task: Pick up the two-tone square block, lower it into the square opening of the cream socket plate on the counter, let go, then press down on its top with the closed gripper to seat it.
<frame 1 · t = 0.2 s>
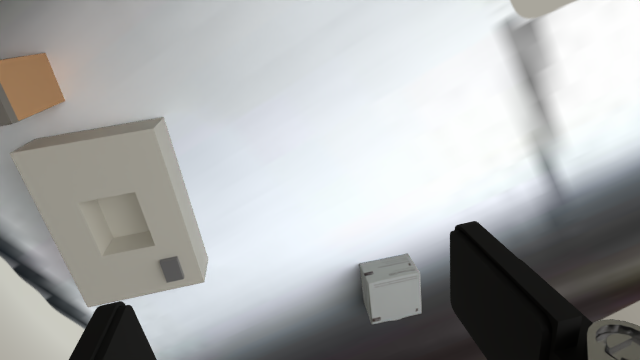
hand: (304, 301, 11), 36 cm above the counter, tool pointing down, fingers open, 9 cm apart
two-tone square block: (35, 80, 40), on the counter
small box: (384, 276, 58), on the counter
socket plate: (130, 205, 47), on the counter
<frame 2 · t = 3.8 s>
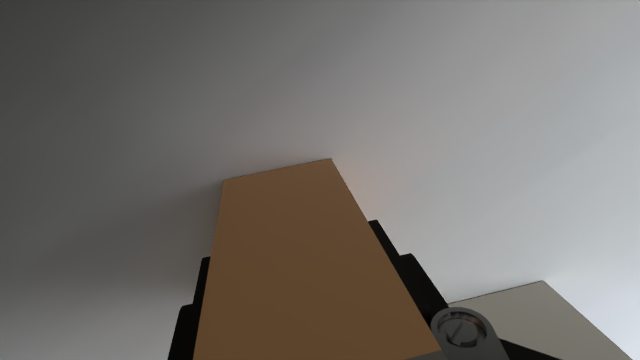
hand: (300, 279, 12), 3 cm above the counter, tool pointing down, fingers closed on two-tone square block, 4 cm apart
two-tone square block: (290, 226, 15), on the counter, touching gripper
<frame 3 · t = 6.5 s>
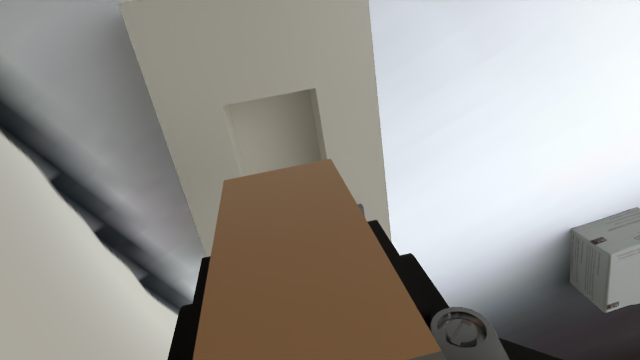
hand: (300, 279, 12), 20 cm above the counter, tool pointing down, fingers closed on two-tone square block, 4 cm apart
two-tone square block: (290, 227, 15), point 16 cm above the counter, touching gripper
small box: (599, 244, 41), on the counter
socket plate: (276, 128, 30), on the counter
when the fingers open (6 cm above the counter, at t = 9.4 s): two-tone square block drops 2 cm, resting on socket plate.
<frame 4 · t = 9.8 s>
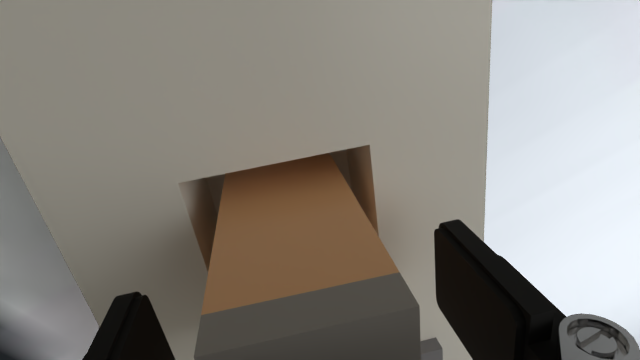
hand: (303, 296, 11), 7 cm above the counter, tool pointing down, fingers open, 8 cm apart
two-tone square block: (285, 203, 17), point 1 cm above the counter, touching socket plate
socket plate: (284, 195, 18), on the counter
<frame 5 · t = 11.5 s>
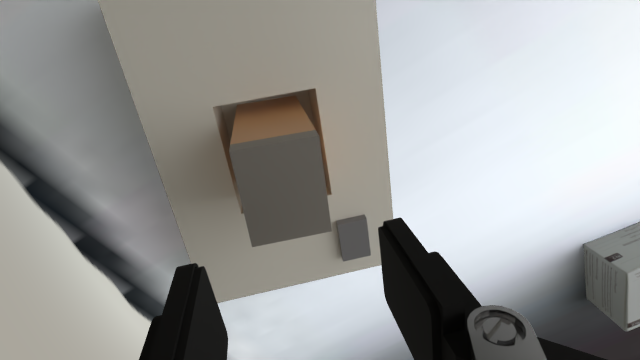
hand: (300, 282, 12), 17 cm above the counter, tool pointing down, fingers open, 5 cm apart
two-tone square block: (272, 135, 27), point 1 cm above the counter, touching socket plate
small box: (614, 256, 39), on the counter
socket plate: (272, 132, 28), on the counter
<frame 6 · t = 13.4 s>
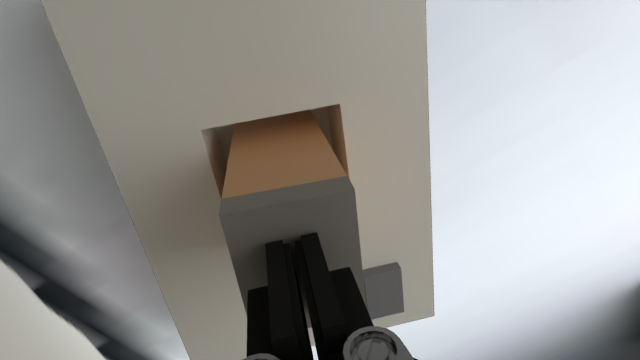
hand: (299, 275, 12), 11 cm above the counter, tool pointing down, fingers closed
two-tone square block: (280, 159, 21), point 1 cm above the counter, touching gripper, socket plate
socket plate: (279, 154, 22), on the counter
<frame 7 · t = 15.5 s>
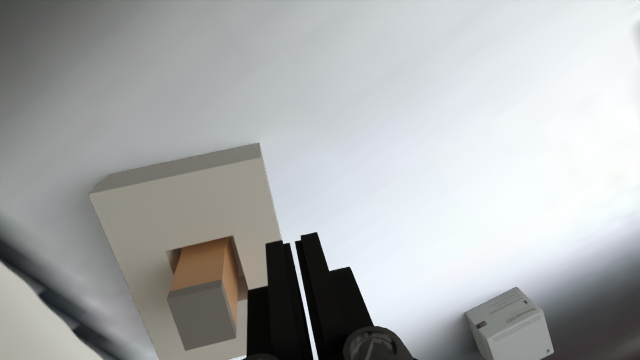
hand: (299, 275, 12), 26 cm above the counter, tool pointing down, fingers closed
two-tone square block: (213, 252, 38), point 1 cm above the counter, touching socket plate
small box: (495, 317, 50), on the counter
socket plate: (214, 248, 39), on the counter
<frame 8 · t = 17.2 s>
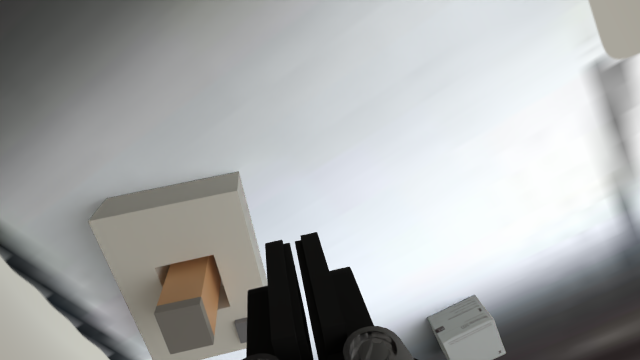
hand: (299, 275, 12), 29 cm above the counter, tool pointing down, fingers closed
two-tone square block: (198, 265, 43), point 1 cm above the counter, touching socket plate
small box: (456, 321, 56), on the counter
socket plate: (199, 260, 44), on the counter
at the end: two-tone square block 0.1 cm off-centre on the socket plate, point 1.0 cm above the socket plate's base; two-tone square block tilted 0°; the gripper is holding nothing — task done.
